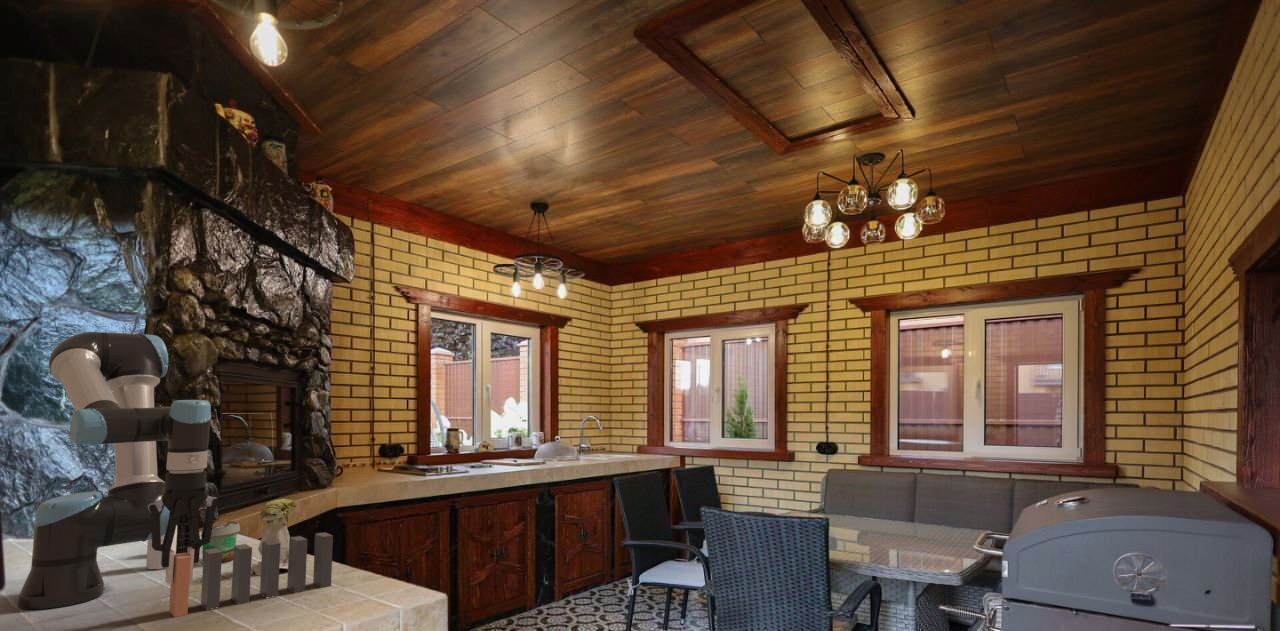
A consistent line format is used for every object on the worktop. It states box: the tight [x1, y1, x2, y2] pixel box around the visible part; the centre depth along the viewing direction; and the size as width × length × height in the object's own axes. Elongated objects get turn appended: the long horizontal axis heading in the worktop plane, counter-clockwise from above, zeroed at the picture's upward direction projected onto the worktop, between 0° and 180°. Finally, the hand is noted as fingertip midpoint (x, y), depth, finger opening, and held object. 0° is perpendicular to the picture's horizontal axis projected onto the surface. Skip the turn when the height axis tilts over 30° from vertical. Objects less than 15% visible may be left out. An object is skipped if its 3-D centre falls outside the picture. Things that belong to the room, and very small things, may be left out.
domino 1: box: [168, 553, 191, 618], centre depth 150 cm, size 2×5×12 cm, turn 44°
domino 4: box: [259, 540, 281, 598], centre depth 163 cm, size 2×5×12 cm, turn 44°
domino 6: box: [312, 532, 334, 589], centre depth 171 cm, size 2×5×12 cm, turn 44°
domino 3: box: [230, 543, 253, 605], centre depth 158 cm, size 2×5×12 cm, turn 44°
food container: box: [200, 520, 241, 565], centre depth 194 cm, size 12×6×10 cm, turn 179°
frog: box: [251, 498, 297, 576], centre depth 186 cm, size 12×13×18 cm
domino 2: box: [200, 548, 222, 610], centre depth 154 cm, size 2×5×12 cm, turn 44°
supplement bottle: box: [176, 513, 192, 554], centre depth 204 cm, size 7×7×12 cm
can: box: [145, 525, 177, 570], centre depth 188 cm, size 6×6×12 cm
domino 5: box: [286, 535, 308, 594], centre depth 167 cm, size 2×5×12 cm, turn 44°
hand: (178, 580), depth 151 cm, fingers open, 3 cm apart
